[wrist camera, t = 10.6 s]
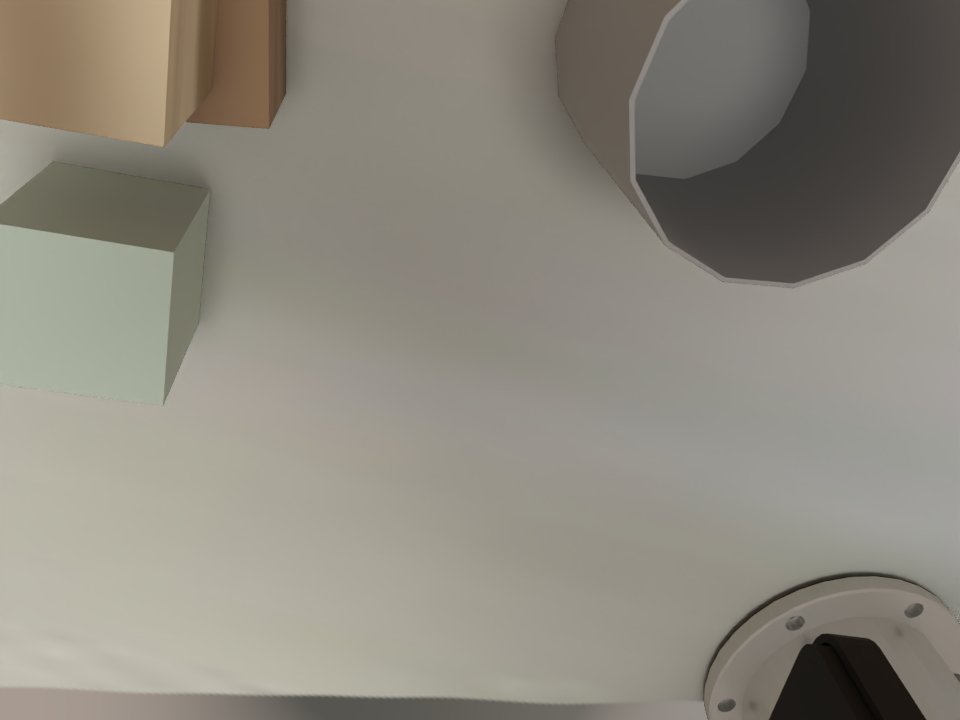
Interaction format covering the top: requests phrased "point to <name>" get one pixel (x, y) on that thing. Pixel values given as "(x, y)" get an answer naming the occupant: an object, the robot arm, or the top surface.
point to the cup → (768, 123)
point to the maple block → (107, 65)
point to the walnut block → (247, 65)
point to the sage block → (100, 282)
